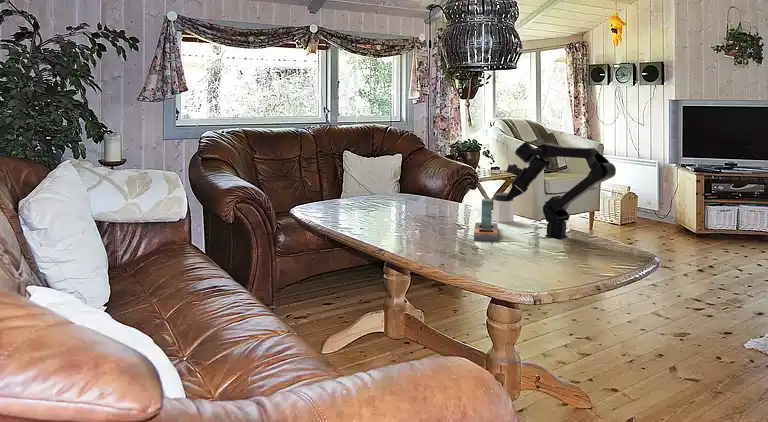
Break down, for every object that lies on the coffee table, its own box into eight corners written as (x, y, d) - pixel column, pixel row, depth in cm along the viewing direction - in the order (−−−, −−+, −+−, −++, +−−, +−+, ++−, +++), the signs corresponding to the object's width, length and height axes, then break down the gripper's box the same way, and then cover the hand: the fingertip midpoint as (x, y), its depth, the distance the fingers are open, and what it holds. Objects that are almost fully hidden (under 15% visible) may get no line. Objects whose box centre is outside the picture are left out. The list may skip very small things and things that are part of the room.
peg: (481, 230, 263) (482, 199, 261) (491, 230, 262) (492, 199, 260) (481, 232, 259) (481, 200, 257) (491, 232, 258) (492, 200, 256)
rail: (475, 227, 269) (475, 221, 269) (497, 228, 268) (497, 222, 267) (473, 240, 244) (473, 234, 244) (497, 241, 243) (497, 235, 242)
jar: (512, 219, 287) (513, 192, 285) (514, 222, 279) (515, 195, 277) (492, 219, 288) (492, 192, 286) (493, 222, 280) (494, 195, 278)
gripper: (517, 156, 264) (492, 184, 268) (517, 157, 246) (489, 187, 250) (538, 173, 263) (512, 202, 267) (539, 176, 245) (511, 206, 248)
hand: (506, 199), depth 258 cm, fingers open, 9 cm apart
